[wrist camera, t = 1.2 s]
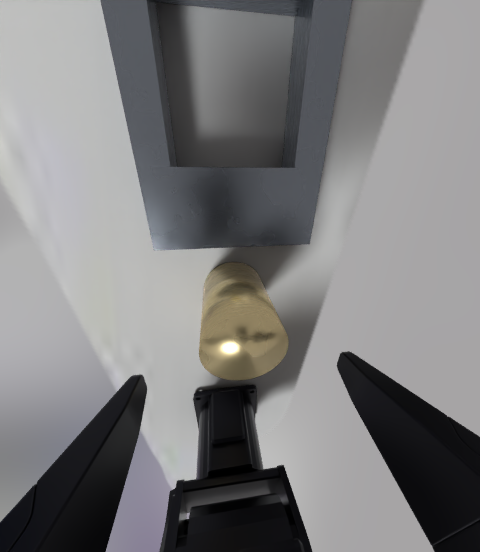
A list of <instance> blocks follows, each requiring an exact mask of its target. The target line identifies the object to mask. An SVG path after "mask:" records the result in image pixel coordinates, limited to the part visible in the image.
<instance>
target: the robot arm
mask: <svg viewBox="0 0 480 552" xmlns="http://www.w3.org/2000/svg"><path fill="white" fill-rule="evenodd" d="M337 368H338V371H339V373H340V375H341V377H342V380H343V382H344V384H345V387H346V388H347V391H348V393H349V396H350V398H351V400H352V402H353V404H354V405H355V408H356V409H357V411H358V413H359V415H360V417H361V419H362V420H363V422H364V424H365V426H366V428H367V429H368V431H369V433H370V435H371V437H372V439H373V440H374V442H375V444H376V446H377V448H378V449H379V451H380V453H381V455H382V457H383V459H384V460H385V462H386V464H387V466H388V468H389V469H390V471H391V473H392V475H393V477H394V478H395V480H396V482H397V484H398V486H399V487H400V489H401V491H402V493H403V494H404V497H405V498H406V500H407V502H408V504H409V506H410V508H411V509H412V511H413V513H414V515H415V517H416V518H417V520H418V522H419V524H420V526H421V527H422V529H423V531H424V533H425V535H426V537H427V538H428V540H429V542H430V544H431V545H432V547H433V549H434V551H435V552H480V437H479V436H478V435H476V434H474V433H473V432H472V431H470V430H468V429H466V428H465V427H464V426H462V425H461V424H459V423H458V422H456V421H455V420H453V419H452V418H450V417H447V415H445V414H444V413H442V412H441V411H439V410H438V409H436V408H435V407H433V406H432V405H430V404H429V403H427V402H426V401H424V400H423V399H421V398H420V397H418V396H417V395H415V394H414V393H412V392H410V391H409V390H408V389H406V388H404V387H403V386H402V385H400V384H399V383H397V382H395V381H394V380H393V379H391V378H389V377H388V376H386V375H385V374H383V373H382V372H380V371H379V370H377V369H376V368H374V367H373V366H371V365H370V364H368V363H367V362H365V361H364V360H362V359H360V358H359V357H358V356H356V355H354V354H353V353H351V352H342V353H341V354H340V357H339V360H338V362H337ZM146 394H147V385H146V383H145V380H144V377H143V375H133V376H131V377H130V378H129V379H128V380H127V381H126V382H125V384H124V385H123V386H122V387H121V388H120V389H119V390H118V391H117V393H116V394H115V395H114V396H113V397H112V398H111V399H110V400H109V402H108V403H107V404H106V405H105V406H104V407H103V408H102V409H101V411H100V412H99V413H98V414H97V415H96V416H95V417H94V419H93V420H92V421H91V422H90V423H89V424H88V425H87V426H86V428H84V430H83V431H82V432H81V433H80V434H79V435H78V436H77V437H76V439H75V440H74V441H73V442H72V443H71V444H70V446H68V448H67V449H66V450H65V451H64V452H63V453H62V455H60V457H59V458H58V459H57V460H56V461H55V462H54V463H53V464H52V466H51V467H50V468H49V469H48V470H47V471H46V472H45V473H44V474H43V476H42V477H41V478H40V479H39V480H38V482H37V484H35V485H34V486H33V487H32V488H31V489H30V490H29V491H28V492H27V493H26V495H25V496H24V497H23V498H22V499H21V500H20V501H19V502H18V504H17V505H16V506H15V507H14V508H13V509H12V510H11V511H10V512H9V513H8V514H7V515H6V517H5V518H4V519H3V520H2V521H1V522H0V552H105V551H106V548H107V544H108V541H109V537H110V534H111V530H112V527H113V523H114V520H115V516H116V513H117V509H118V506H119V502H120V499H121V495H122V492H123V488H124V485H125V481H126V478H127V474H128V471H129V467H130V464H131V460H132V457H133V453H134V450H135V446H136V443H137V439H138V435H139V431H140V426H141V421H142V415H143V410H144V405H145V399H146ZM256 397H257V389H256V386H254V385H249V386H241V387H233V388H225V389H217V390H209V391H201V392H196V393H195V394H194V397H193V400H194V406H195V411H196V417H197V422H198V428H199V439H198V458H197V477H196V480H189V481H184V480H178V481H177V484H176V488H175V489H173V490H172V491H170V495H169V502H168V510H167V517H166V523H165V528H164V533H163V538H162V543H161V547H160V552H312V549H311V545H310V542H309V539H308V536H307V533H306V530H305V527H304V524H303V521H302V518H301V515H300V512H299V509H298V506H297V503H296V500H295V497H294V494H293V491H292V488H291V485H290V483H289V479H288V477H287V474H286V471H285V468H284V465H279V466H277V467H276V468H270V469H263V464H262V458H261V453H260V447H259V441H258V436H257V430H256V424H255V411H256ZM189 512H190V516H189V519H186V518H187V513H189Z"/></svg>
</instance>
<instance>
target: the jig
mask: <svg viewBox="0 0 480 552" xmlns="http://www.w3.org/2000/svg"><path fill="white" fill-rule="evenodd" d="M156 2H162V3H172V4H181V5H191V6H201V7H210V8H220V9H230V10H239V11H249V12H259V13H268V14H278V15H288V16H295V25H294V36H293V47H292V58H291V70H290V81H289V92H288V104H287V115H286V126H285V137H284V149H283V160H282V168H249V167H177V163H176V155H175V147H174V140H173V132H172V124H171V116H170V109H169V101H168V93H167V85H166V78H165V70H164V62H163V54H162V47H161V39H160V31H159V24H158V16H157V8H156ZM351 3H352V0H101V5H102V9H103V14H104V19H105V23H106V28H107V33H108V37H109V42H110V47H111V51H112V56H113V61H114V65H115V70H116V75H117V79H118V84H119V89H120V93H121V98H122V103H123V107H124V112H125V117H126V121H127V126H128V131H129V135H130V140H131V145H132V149H133V154H134V159H135V164H136V168H137V173H138V178H139V182H140V187H141V192H142V196H143V201H144V206H145V210H146V215H147V220H148V224H149V229H150V234H151V238H152V243H153V248H154V250H175V249H200V248H225V247H250V246H275V245H300V244H310V239H311V233H312V227H313V222H314V216H315V210H316V204H317V199H318V193H319V187H320V181H321V176H322V170H323V164H324V158H325V153H326V147H327V141H328V135H329V130H330V124H331V118H332V112H333V107H334V101H335V95H336V89H337V84H338V78H339V72H340V66H341V61H342V55H343V49H344V43H345V38H346V32H347V26H348V20H349V15H350V9H351Z"/></svg>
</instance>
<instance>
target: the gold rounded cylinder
mask: <svg viewBox="0 0 480 552" xmlns="http://www.w3.org/2000/svg"><path fill="white" fill-rule="evenodd" d="M287 349H288V336H287V334H286V331H285V329H284V327H283V325H282V323H281V321H280V319H279V317H278V315H277V313H276V311H275V308H274V306H273V304H272V302H271V300H270V298H269V296H268V294H267V292H266V290H265V288H264V285H263V283H262V281H261V279H260V277H259V275H258V274H257V272H256V271H255V270H254V269H253V268H252V267H250V266H248V265H246V264H244V263H239V262H229V263H225V264H222V265H220V266H218V267H216V268H215V269H213V270H212V271H211V272H210V273H209V275H208V276H207V278H206V280H205V283H204V293H203V306H202V319H201V333H200V346H199V357H200V361H201V363H202V365H203V366H204V368H205V369H206V370H207V371H209V372H210V373H211V374H213V375H215V376H217V377H219V378H223V379H227V380H247V379H252V378H256V377H259V376H261V375H263V374H266V373H267V372H269V371H271V370H272V369H274V368H275V367H276V366H277V365H278V364H279V363H280V362H281V361H282V360H283V358H284V356H285V355H286V352H287Z"/></svg>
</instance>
